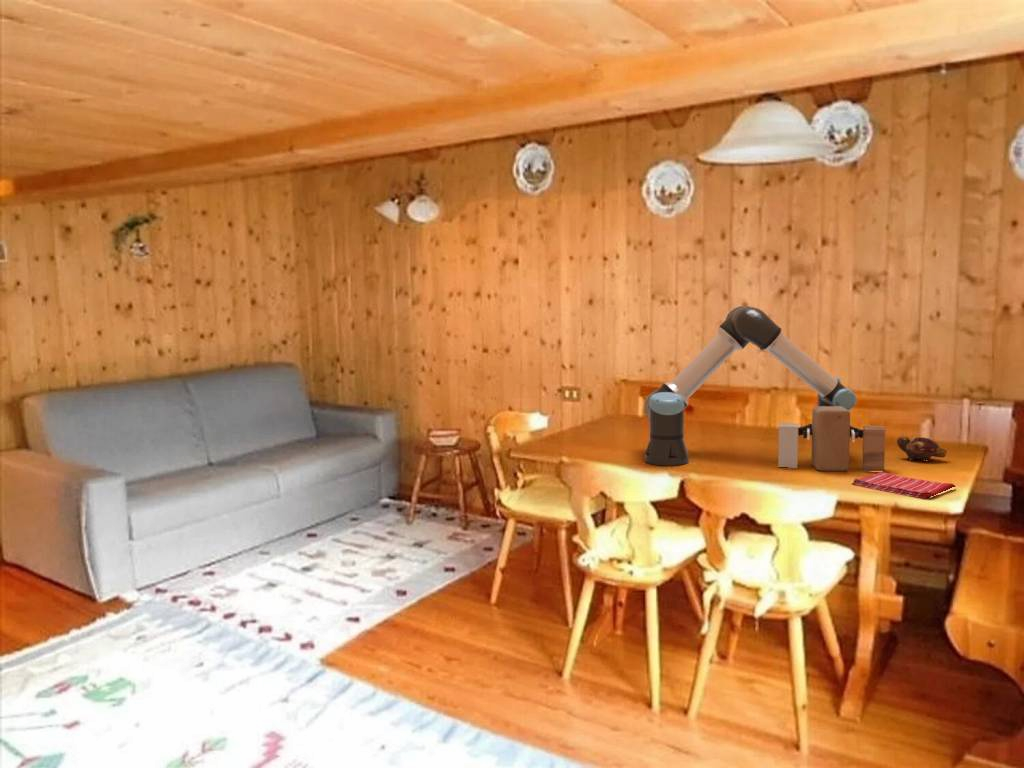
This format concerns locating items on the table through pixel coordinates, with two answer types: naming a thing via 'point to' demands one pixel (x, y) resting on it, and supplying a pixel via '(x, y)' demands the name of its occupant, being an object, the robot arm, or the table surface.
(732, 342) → the robot arm
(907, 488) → the dish towel
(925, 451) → the decorative turtle
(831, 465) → the wooden block
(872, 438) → the walnut block
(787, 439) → the grey painted block
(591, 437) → the table surface
